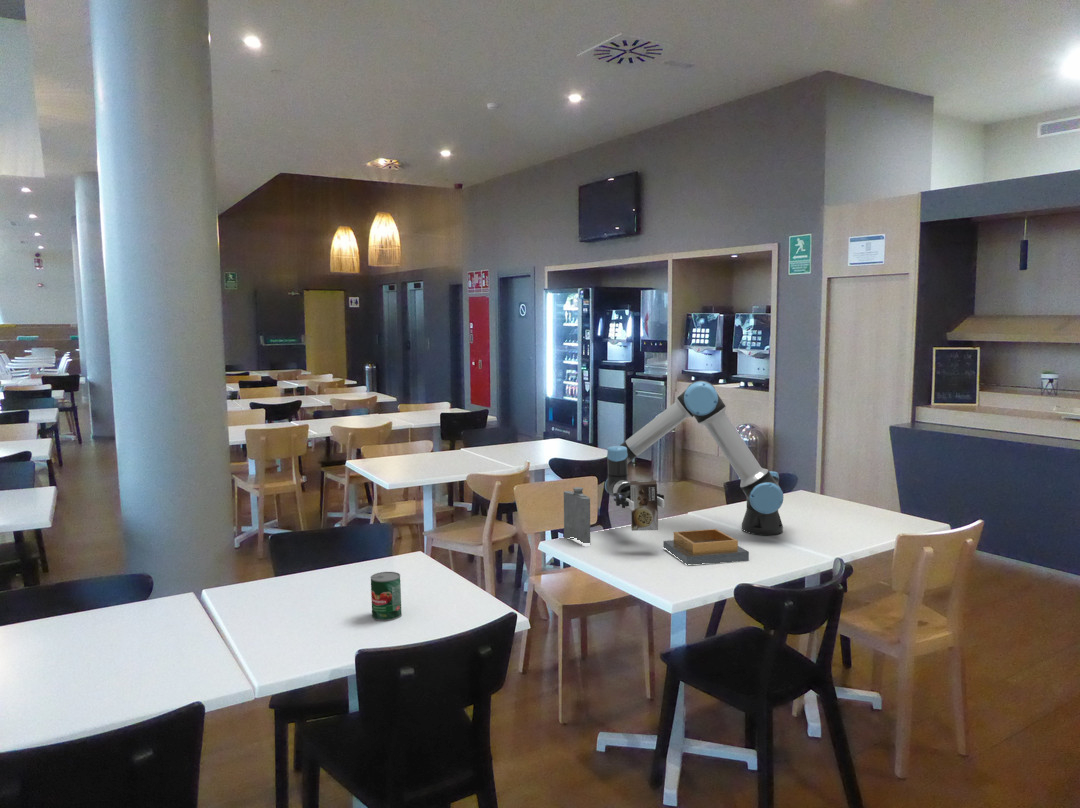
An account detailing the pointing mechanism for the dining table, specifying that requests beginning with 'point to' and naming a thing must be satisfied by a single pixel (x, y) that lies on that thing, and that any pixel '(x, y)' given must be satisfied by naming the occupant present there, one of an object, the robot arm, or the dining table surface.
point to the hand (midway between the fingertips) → (648, 505)
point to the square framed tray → (705, 547)
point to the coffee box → (644, 505)
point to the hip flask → (577, 515)
